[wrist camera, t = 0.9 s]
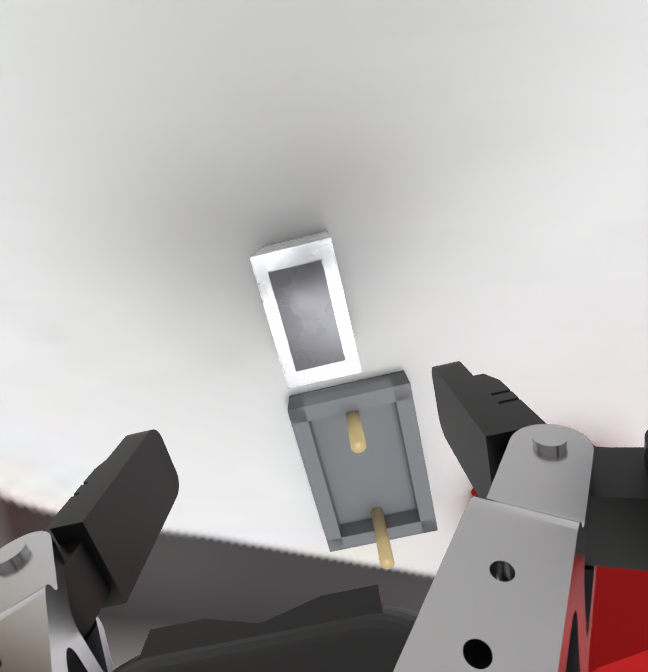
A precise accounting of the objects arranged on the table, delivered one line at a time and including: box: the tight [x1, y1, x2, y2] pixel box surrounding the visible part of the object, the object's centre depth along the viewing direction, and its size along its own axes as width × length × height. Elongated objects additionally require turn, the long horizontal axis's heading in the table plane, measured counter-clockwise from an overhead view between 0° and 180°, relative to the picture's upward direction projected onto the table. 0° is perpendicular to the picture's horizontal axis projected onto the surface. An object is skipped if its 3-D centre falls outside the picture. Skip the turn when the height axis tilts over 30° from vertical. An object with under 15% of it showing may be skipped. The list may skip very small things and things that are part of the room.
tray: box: [288, 371, 438, 569], centre depth 29 cm, size 9×13×6 cm, turn 13°
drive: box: [250, 231, 362, 389], centre depth 25 cm, size 4×8×6 cm, turn 13°
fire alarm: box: [472, 444, 648, 672], centre depth 28 cm, size 16×11×15 cm
